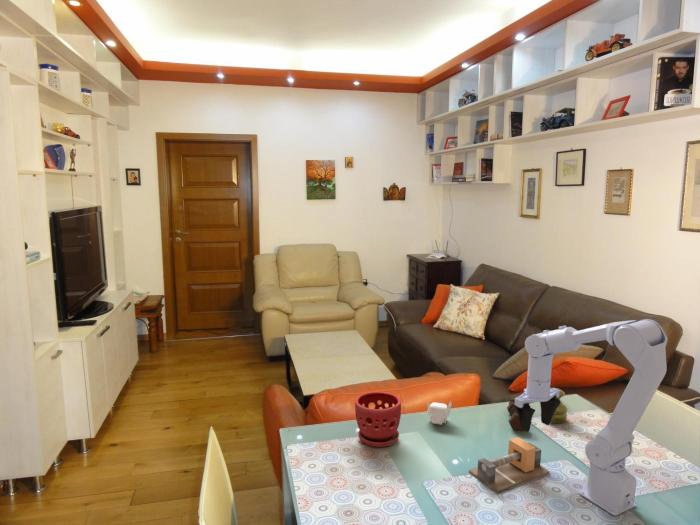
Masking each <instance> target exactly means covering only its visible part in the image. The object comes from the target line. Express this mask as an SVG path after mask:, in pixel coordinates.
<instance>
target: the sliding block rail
mask: <svg viewBox="0 0 700 525" xmlns="http://www.w3.org/2000/svg"><path fill="white" fill-rule="evenodd" d="M528 443H529V444H530V445H532V446H534V447H535V448H536V450H535V462H534V470H531V471H528V472H526V473H525V472H524V471H522V470H521V469H519V468H518V467H516V466H515V465H513V464H512V463H510V462H513V461H516V460H519V459H521V453H520V452H515V453H512V454H509V455H508V454H507V455H504V456H500V457H497V458H495V459H492V460H488V459H487V458H485V457H482V458H479V459H478V460H477V466H476V467H473V468H471V469H468V473H469V474H471V476H474V477H475V478H476V479H477V480H479V482H482V483H483V484H484V485H485V486H487V487H488V488H490V489H491V490H492V491H494V492H495V494H500V493H503V492H505V491H508V490H510V489H513V488H516V487H518V486H521V485H522V484H526V483H528V482H531V481H533V480H536V479H539V478H542V477H544V476H546V475H549V474H550V473H551V472H550V471H549V470H548V469H547V468H546V467H544V466H542V465H541V460H542V458H541V457H542V449H541V448H539V447H537V446H536V445H534V444H532V443H531V442H528Z"/></svg>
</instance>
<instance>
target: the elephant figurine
mask: <svg viewBox="0 0 700 525" xmlns="http://www.w3.org/2000/svg"><path fill="white" fill-rule="evenodd" d="M452 406H453V404H452V401H451V400H450V401H449V403H448V405H447V404H446V403H441V402H434V401H433V402H432V403H430V402H429V397H428V398H427V412H426V413H427V415H429V422H430V423H431V424H434V425H443V424H442V423H445V424H446V423H447V420H448V418H449V416H450V414H451V410H452V409H451V408H452Z"/></svg>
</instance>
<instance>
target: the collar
mask: <svg viewBox="0 0 700 525" xmlns="http://www.w3.org/2000/svg"><path fill="white" fill-rule="evenodd" d="M529 443H530V442H527V441H525V440H524V439H522V438H520V437H518V436H516V437H514V438H510V439H509V440H508V453H507V455H509V454H512V453H515V452H520V453H521V459H519V460H516V461H513V462H510V463H512V464H513V465H515V466H516V467H518V468H519V469H521V470H522V471H524V472H525V473H526V472H528V471H531V470H534V462H535V450H536V448H535V447H534V446H535V445H534V446H532V445H533V444H532V445H530V444H529Z"/></svg>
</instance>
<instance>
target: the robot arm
mask: <svg viewBox="0 0 700 525" xmlns="http://www.w3.org/2000/svg"><path fill="white" fill-rule="evenodd" d="M668 340H669V339H668V337H667V335H666V333H665V331H664V330H663V328H662V326H661V325H660V323H658V322H657V321H655V320H653V319H650V318H644V319H640V320H639V321H637V320H636V319H635V320H624V321H614V322H609V323H604V324H601V325H598V326H597V325H596V326H593V327H592V326H591V327H588V328H584V329H580V330H577V329H575V328H574V327H573V326H567V325H566V324H565V325H562V326H561V325H560V326H558V329H554V330H549V329H545V330H543V331H542V332H540V333H536V334H531V335H529V336H528V337H526V339H525V341H524V348H525V350H526V352H527V354H528V362H527V377H526V379H527V380H526V388H523V393H522V394H520V395H519V396H517V397H515V398H514V400H515V402H514V407H515V409H516V411H517V413H518V416H519V419H520V424H521V429H522V430H524V432H527V433H528V432H530V430H531V425H532V418H533V416H534V414H535V412H536V409H534V408H533V407H531V405H530V404H534V403H539V404H540V422H541V423H542V424H543V425H546V426H550V425H551V424H550V422H551V419H552V416H553V414H554V412H555V410H556V409H557V407H558V406H559V405H560V400H561V399H560V400H559V399H556V398H557V397H559V392H560V390H561V389H560V390H558V389H559V388H558V389H555V388H556V387H551V383H552V382H551V381H552V380H551V379H552V367H553V366H552V365H553V359H554V355H555V354H560V353H561V354H562V353H566V352H567V353H568V352H573V351H577V350H578V349H580V347H581V345H582V344H588V343H595V342H601V341H603V342H604V341H606V342H608V343H609V345H610V346H616V348H617V349H618V350H619V352H621V354H622V355H623V356H624V357H625V358H626V359H627V361H628V362H629V363H630V364H631V365H632V366H633V368H634V371H633V374H632V376H631V378H630V379H629V381H628V384H627V385H626V387H625V388H624V391H623V392H622V394H621V396H620V398H619V401H618V402H617V404H616V406H615V408H614V410H613V412H612V413H611V415H610V417H609V419H608V421H607V423H606V424H605V426H604V427H603V428H602V429H601V430H600V431H599V432H598V433H597V434H596V436H595V437H594V438H593V439H592V440H589V441H588V442H587V443H586V445H585V448H584V452H585V455H586V458H587V459H588V461H589V469H588V477H587V478H588V480H587V487H585V488H584V489H581V490H578V495H581V497H583V498H585V499H587V500H588V501H590V502H591V503H593V504H595V505H596V506H598V507H600V508H602V509H603V510H605V511H606V512H608V513H609V514H611V515H612V516H618V515H620V514H623V513H625V512H626V511H628V510H630V509H633V508H635V507H637V506H636V505H637V504H636V503H635V499H636V490H637V479H636V477H635V476H634V475H633V474H632V473H630V472H629V471H628V470H627V468H626V459H627V458H628V457H630V456H631V455H632V452H633V442H634V440H635V435H634V434H633V433H634V431H635V429H636V428H637V425H638V424H639V422H640V420H641V419H642V417H643V415H644V413H645V412H646V410H647V408H648V406H649V404H650V403H651V401H652V399H653V397H654V395H655V393H656V392H657V390H658V388H659V387H660V384H661V383H662V381H663V380H664V378H665V376H666V374H667V369H668V368H667V366H668V365H667V352H666V347H667V343H668Z"/></svg>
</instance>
